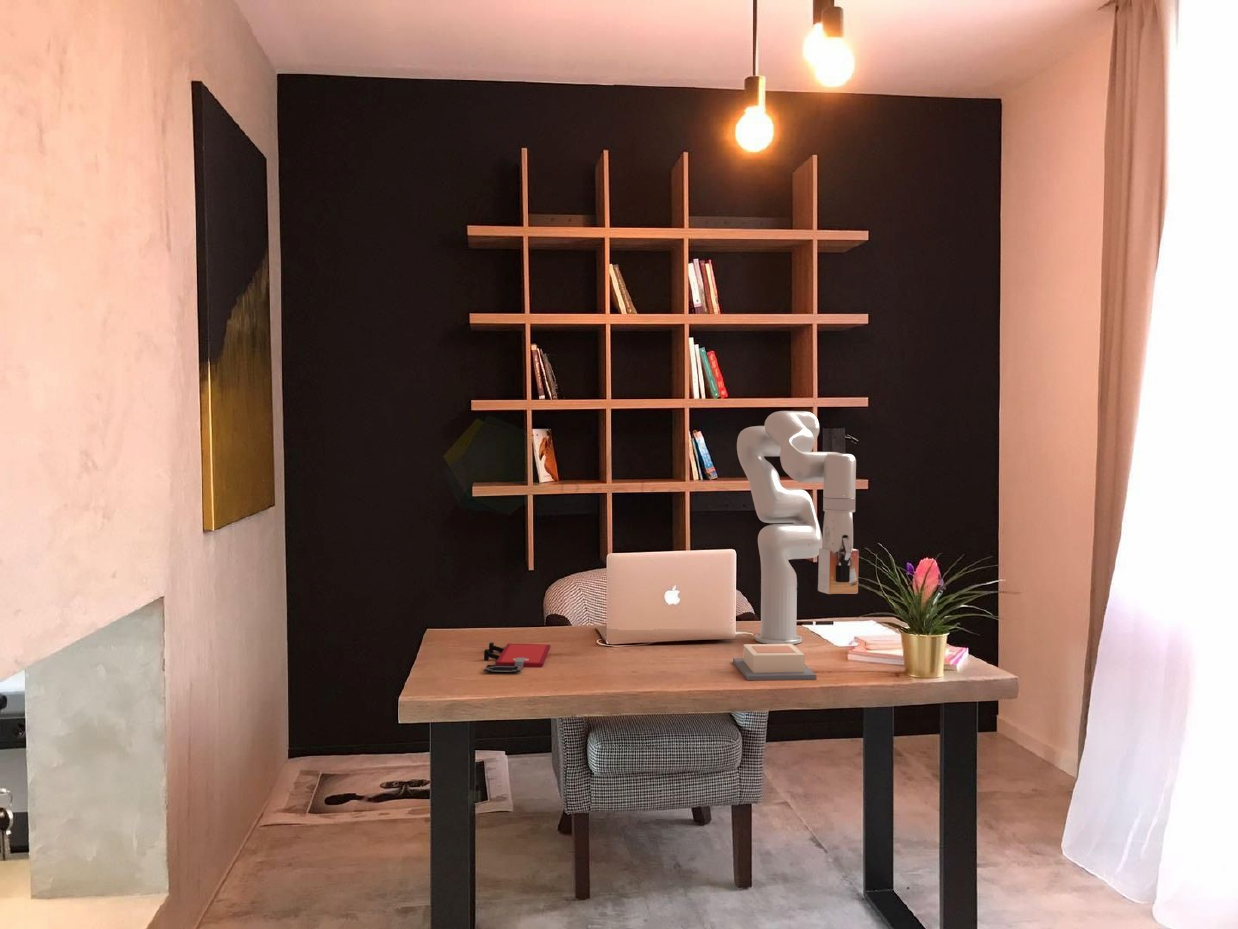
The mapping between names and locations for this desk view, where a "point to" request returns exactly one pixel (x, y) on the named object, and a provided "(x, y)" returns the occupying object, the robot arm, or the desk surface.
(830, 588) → the small box
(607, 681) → the desk surface
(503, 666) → the red board with handle
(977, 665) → the desk surface
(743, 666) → the build board
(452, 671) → the desk surface
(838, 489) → the robot arm
